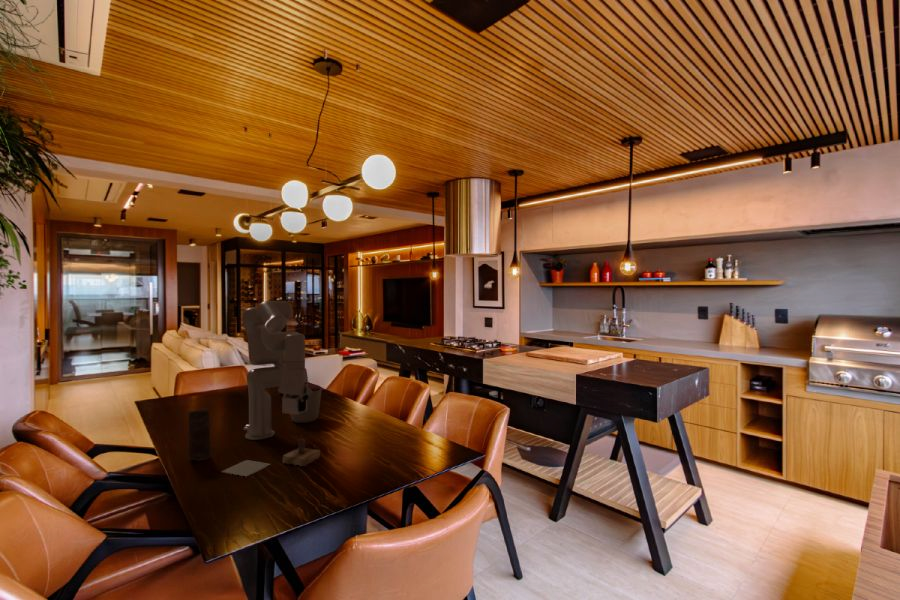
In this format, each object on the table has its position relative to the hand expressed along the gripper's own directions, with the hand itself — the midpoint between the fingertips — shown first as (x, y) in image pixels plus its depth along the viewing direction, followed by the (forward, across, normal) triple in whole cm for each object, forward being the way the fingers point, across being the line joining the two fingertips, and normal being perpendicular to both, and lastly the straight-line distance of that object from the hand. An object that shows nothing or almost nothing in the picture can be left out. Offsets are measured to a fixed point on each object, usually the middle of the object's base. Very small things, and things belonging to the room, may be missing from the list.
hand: (294, 409), depth 170 cm
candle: (+21, -37, -10) cm, 44 cm away
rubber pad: (+20, -12, -12) cm, 27 cm away
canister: (+21, -32, +48) cm, 62 cm away
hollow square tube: (+1, 0, 0) cm, 1 cm away
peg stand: (+20, +2, +2) cm, 21 cm away
